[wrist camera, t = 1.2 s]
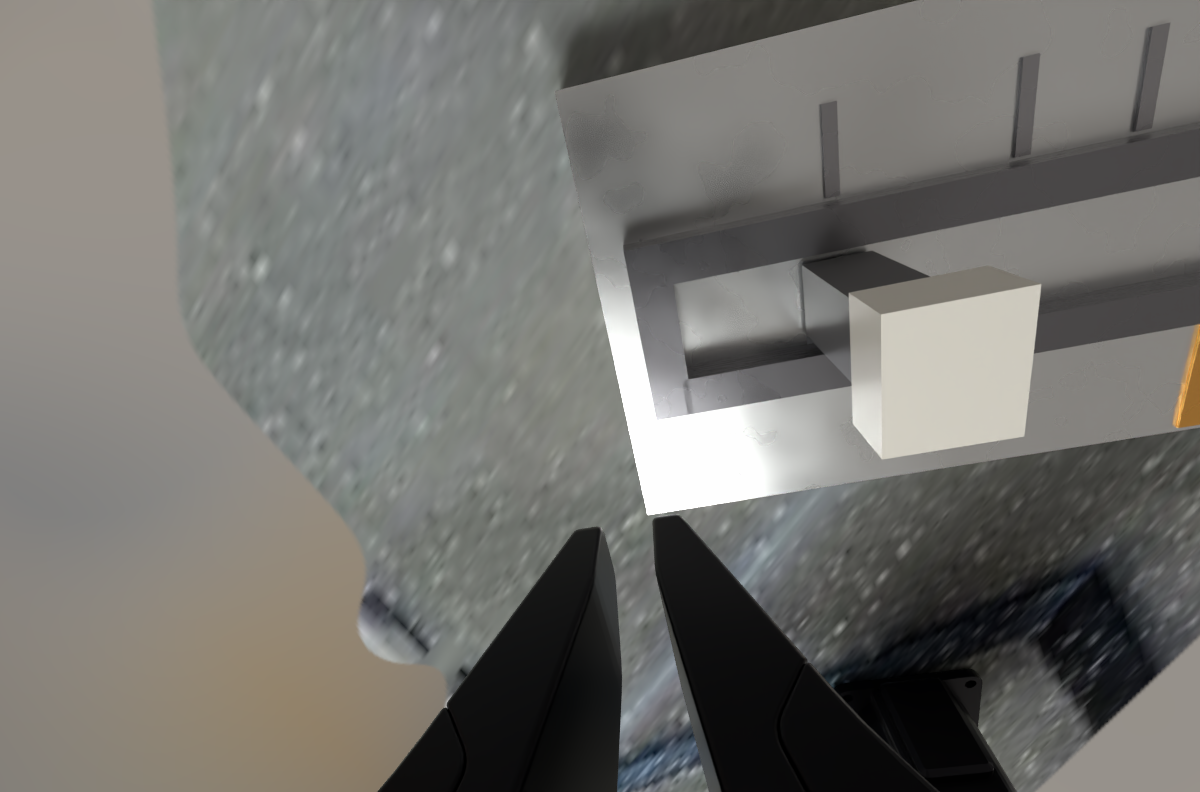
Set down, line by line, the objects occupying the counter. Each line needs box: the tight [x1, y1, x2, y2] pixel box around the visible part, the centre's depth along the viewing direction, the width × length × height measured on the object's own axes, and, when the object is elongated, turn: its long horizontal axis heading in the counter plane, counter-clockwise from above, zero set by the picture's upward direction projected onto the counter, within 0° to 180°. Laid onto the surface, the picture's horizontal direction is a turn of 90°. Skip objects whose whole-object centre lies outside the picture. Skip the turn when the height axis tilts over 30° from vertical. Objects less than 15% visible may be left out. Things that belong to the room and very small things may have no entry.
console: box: [555, 0, 1200, 515], centre depth 17 cm, size 14×24×3 cm, turn 102°
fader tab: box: [802, 251, 1041, 459], centre depth 14 cm, size 3×3×6 cm
